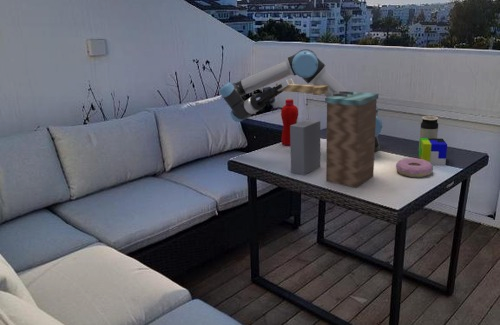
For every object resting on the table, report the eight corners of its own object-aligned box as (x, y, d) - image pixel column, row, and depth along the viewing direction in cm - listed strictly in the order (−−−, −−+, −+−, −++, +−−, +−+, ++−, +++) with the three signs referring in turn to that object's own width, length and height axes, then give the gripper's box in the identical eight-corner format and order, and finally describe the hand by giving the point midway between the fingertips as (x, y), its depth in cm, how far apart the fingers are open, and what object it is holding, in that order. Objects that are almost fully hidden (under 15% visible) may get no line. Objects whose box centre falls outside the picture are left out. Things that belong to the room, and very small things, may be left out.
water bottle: (299, 141, 250) (299, 97, 242) (297, 146, 240) (296, 101, 232) (283, 140, 252) (282, 97, 244) (280, 146, 242) (279, 101, 234)
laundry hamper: (324, 181, 188) (325, 95, 177) (343, 170, 201) (345, 88, 189) (356, 188, 179) (359, 98, 167) (374, 176, 191) (378, 91, 180)
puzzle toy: (445, 165, 200) (447, 144, 197) (422, 165, 202) (423, 144, 199) (440, 158, 209) (442, 138, 206) (418, 158, 211) (420, 138, 208)
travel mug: (427, 156, 213) (430, 120, 207) (415, 152, 220) (417, 117, 214) (439, 153, 216) (442, 118, 210) (427, 149, 223) (430, 115, 217)
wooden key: (273, 91, 199) (273, 84, 198) (282, 88, 204) (282, 82, 203) (319, 95, 184) (319, 88, 183) (327, 92, 189) (327, 85, 188)
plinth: (291, 172, 201) (290, 125, 194) (307, 164, 211) (307, 119, 204) (303, 175, 197) (303, 127, 190) (320, 166, 207) (320, 120, 200)
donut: (399, 165, 204) (400, 155, 202) (434, 169, 196) (435, 158, 195) (392, 176, 191) (392, 165, 189) (429, 181, 184) (430, 169, 182)
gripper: (268, 107, 218) (303, 86, 201) (248, 113, 206) (283, 91, 190) (262, 93, 218) (296, 71, 202) (241, 99, 206) (275, 76, 190)
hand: (289, 81), depth 196 cm, fingers closed on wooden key, 3 cm apart
